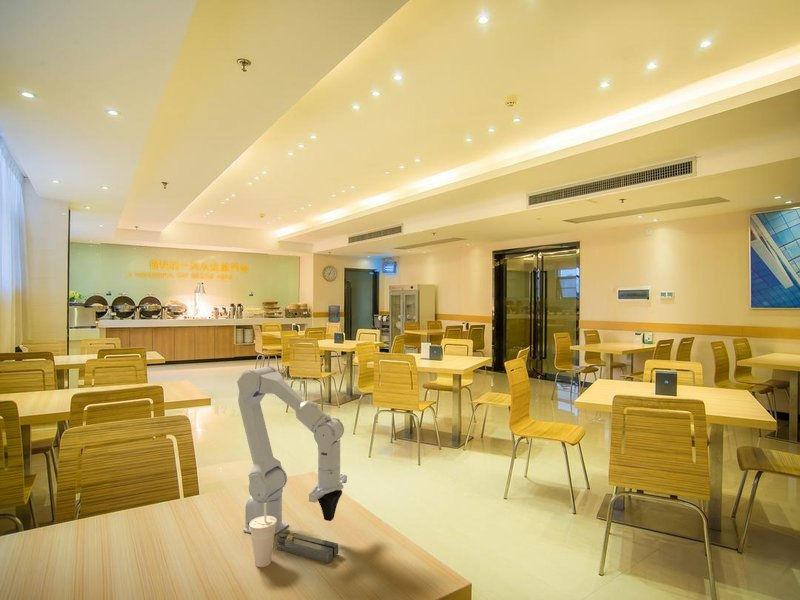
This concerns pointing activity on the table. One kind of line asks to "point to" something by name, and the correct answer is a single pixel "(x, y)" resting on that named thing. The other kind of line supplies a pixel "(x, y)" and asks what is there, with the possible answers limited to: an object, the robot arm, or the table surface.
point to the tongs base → (305, 549)
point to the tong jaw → (311, 540)
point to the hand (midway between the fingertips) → (328, 519)
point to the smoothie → (263, 538)
